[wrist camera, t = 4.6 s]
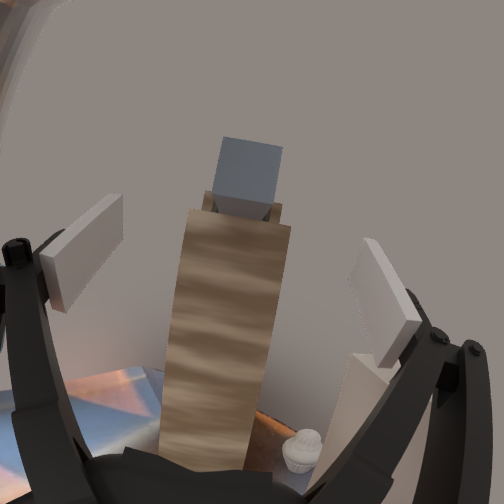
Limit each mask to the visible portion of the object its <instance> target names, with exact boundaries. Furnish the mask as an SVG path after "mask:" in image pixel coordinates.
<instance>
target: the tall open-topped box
mask: <svg viewBox="0 0 504 504" xmlns="http://www.w3.org/2000/svg"><path fill="white" fill-rule="evenodd" d="M211 193H212V191H205V194H204V199H203V204H202V209H201V210H196V209H189V213H188V217H187V223H186V229H185V234H184V239H183V245H182V251H181V256H180V263H179V268H178V275H177V281H176V288H175V294H174V301H173V308H172V315H171V323H170V331H169V339H168V347H167V356H166V366H165V375H164V385H163V396H162V408H161V421H160V436H159V454H158V455H159V456H161V457H163V458H166V459H168V460H170V461H172V462H174V463H176V464H178V465H181V466H183V467H185V468H187V469H190V470H192V471H195V472H211V471H224V470H235V469H237V470H243V466H244V461H245V457H246V453H247V449H248V444H249V440H250V436H251V431H252V427H253V422H254V418H255V413H256V409H257V404H258V399H259V395H260V390H261V385H262V381H263V376H264V371H265V366H266V361H267V356H268V351H269V346H270V341H271V336H272V331H273V326H274V321H275V315H276V310H277V305H278V299H279V294H280V289H281V283H282V277H283V272H284V266H285V261H286V254H287V249H288V243H289V237H290V231H291V226H286V225H281V224H279V222H280V216H281V210H282V204H280V203H273V206H272V207H271V208H270V210H269V211H268V212H267V214H266V215H265V216H264V218H263V219H262V220H261V221H259V220H254V219H248V218H243V217H237V216H231V215H225V214H220V213H219V210H218V208H217V206H216V203H215V201H214V199H213V196H212V194H211Z"/></svg>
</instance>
